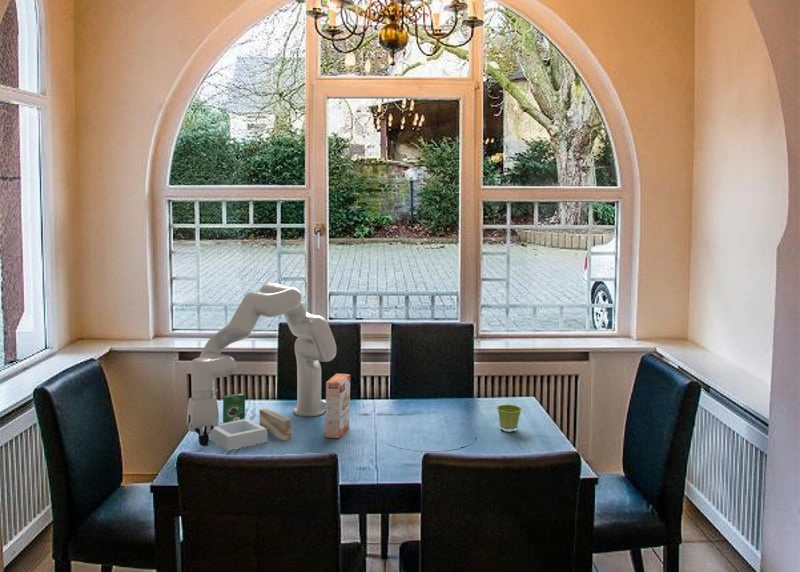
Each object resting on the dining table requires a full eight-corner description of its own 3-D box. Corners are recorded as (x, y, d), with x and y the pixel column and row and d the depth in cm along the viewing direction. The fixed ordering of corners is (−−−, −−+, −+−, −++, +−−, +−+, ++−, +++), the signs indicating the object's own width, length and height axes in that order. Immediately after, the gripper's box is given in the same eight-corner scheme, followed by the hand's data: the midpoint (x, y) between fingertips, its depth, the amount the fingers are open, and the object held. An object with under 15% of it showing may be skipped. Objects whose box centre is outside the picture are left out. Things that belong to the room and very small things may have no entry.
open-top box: (247, 431, 300) (247, 418, 299) (267, 442, 288) (267, 428, 287) (209, 439, 290) (209, 425, 290) (228, 450, 279) (228, 436, 278)
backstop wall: (266, 426, 306) (266, 408, 305) (291, 438, 292) (291, 420, 291) (259, 427, 304) (259, 409, 303) (284, 440, 290) (283, 421, 289)
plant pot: (524, 428, 308) (525, 406, 307) (516, 435, 300) (517, 413, 299) (500, 425, 312) (501, 403, 311) (492, 432, 304) (493, 409, 302)
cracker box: (340, 439, 293) (340, 383, 290) (324, 438, 294) (324, 381, 291) (350, 427, 306) (351, 373, 303) (335, 426, 307) (335, 372, 304)
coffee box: (242, 426, 306) (241, 392, 304) (245, 428, 304) (245, 394, 302) (222, 430, 301) (222, 395, 299) (226, 432, 299) (225, 397, 297)
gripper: (218, 388, 286) (218, 438, 288) (177, 394, 277) (178, 446, 279) (227, 392, 280) (228, 444, 283) (186, 399, 271) (187, 452, 273)
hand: (203, 445), depth 281 cm, fingers closed
